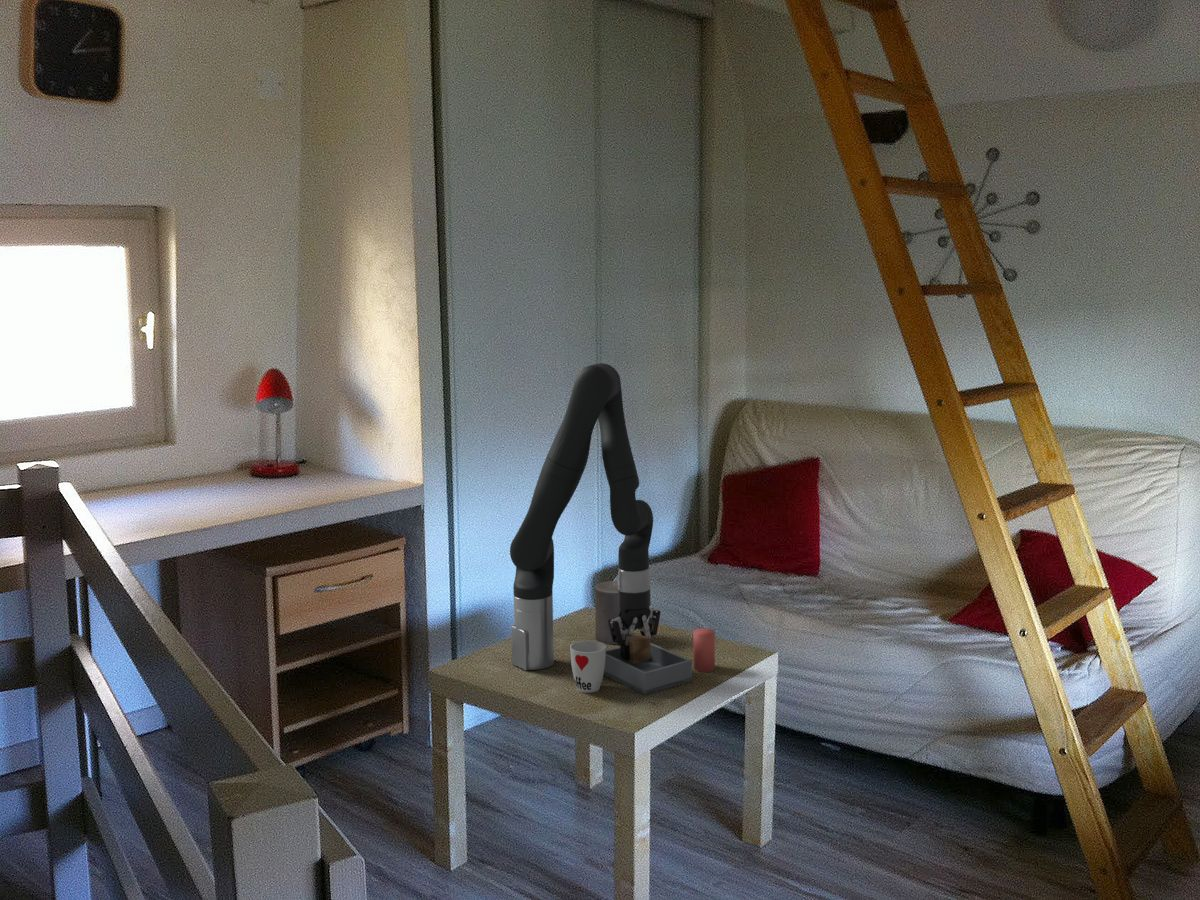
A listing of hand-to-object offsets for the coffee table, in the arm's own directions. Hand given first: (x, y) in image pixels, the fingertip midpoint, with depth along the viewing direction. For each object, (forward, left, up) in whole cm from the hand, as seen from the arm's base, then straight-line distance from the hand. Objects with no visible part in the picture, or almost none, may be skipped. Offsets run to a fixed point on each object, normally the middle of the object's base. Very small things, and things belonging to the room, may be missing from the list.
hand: (635, 656), depth 288 cm
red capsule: (+14, -8, -4) cm, 17 cm away
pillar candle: (+10, +22, -4) cm, 25 cm away
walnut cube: (0, 0, 0) cm, 0 cm away
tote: (0, -4, -4) cm, 5 cm away
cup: (-15, -2, -4) cm, 15 cm away
